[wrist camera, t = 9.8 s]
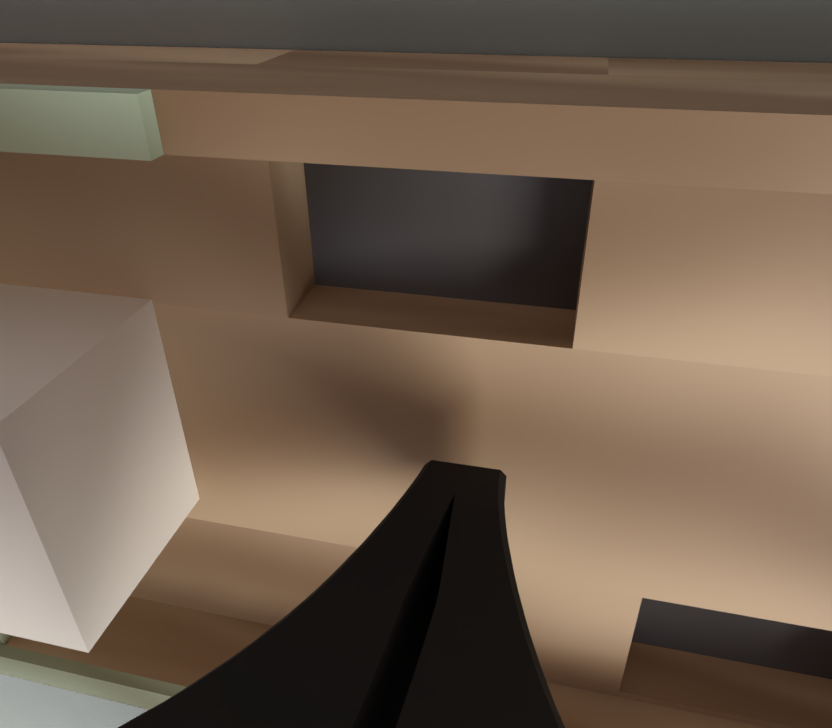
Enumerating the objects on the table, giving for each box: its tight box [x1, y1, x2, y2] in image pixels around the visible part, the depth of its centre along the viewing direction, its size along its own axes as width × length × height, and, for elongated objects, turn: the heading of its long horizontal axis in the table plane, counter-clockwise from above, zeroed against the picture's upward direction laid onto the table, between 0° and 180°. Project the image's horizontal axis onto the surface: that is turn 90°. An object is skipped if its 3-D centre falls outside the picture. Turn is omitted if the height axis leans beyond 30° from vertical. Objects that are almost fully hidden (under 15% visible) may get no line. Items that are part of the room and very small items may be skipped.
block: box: [0, 283, 199, 653], centre depth 13 cm, size 5×5×4 cm
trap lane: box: [0, 43, 832, 728], centre depth 12 cm, size 14×29×4 cm, turn 91°
